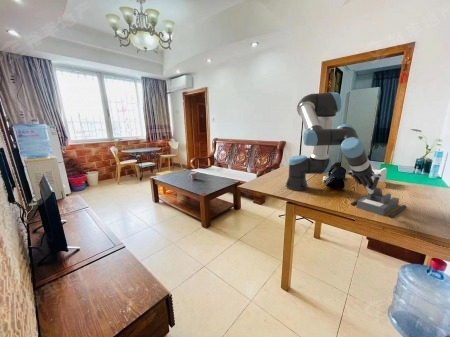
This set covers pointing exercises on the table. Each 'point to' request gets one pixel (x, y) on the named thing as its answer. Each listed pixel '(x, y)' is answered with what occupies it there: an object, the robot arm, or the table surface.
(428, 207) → the table surface
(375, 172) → the cable organizer
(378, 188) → the lever
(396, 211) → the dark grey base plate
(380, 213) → the breaker block
